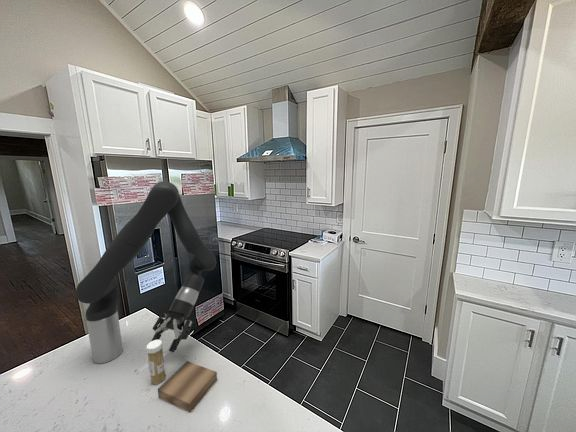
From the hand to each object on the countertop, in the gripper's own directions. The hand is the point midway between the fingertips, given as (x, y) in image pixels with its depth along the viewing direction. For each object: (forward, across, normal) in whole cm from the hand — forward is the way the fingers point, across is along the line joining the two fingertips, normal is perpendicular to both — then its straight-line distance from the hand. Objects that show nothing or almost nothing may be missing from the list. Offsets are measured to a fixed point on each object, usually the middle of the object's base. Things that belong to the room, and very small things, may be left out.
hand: (162, 348), depth 80 cm
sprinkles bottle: (+9, 0, +5) cm, 10 cm away
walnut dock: (+8, +13, +6) cm, 16 cm away
